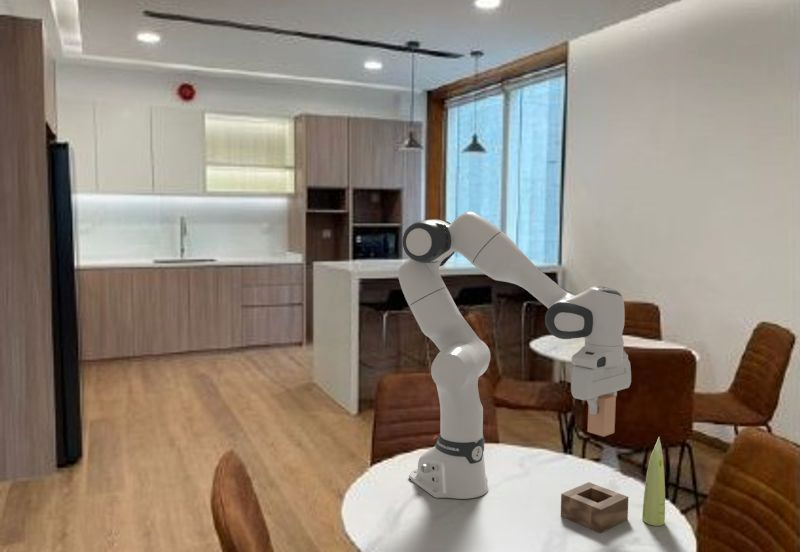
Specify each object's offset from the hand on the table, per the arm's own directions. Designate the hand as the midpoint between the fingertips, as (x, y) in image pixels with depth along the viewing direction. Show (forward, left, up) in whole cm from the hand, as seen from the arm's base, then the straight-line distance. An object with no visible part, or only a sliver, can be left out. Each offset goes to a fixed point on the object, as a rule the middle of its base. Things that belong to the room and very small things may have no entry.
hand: (601, 411), depth 157 cm
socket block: (+1, -4, -25) cm, 25 cm away
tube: (+11, +5, -25) cm, 28 cm away
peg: (0, 0, -5) cm, 5 cm away
